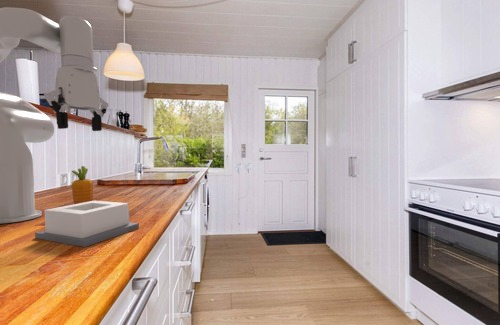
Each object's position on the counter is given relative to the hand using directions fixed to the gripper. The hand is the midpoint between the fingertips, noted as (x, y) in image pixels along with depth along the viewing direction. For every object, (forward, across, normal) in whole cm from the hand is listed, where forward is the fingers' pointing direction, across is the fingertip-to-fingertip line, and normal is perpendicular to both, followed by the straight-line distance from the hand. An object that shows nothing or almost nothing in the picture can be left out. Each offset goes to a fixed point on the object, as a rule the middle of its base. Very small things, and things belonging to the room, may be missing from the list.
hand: (80, 129), depth 75 cm
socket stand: (+25, +8, +13) cm, 29 cm away
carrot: (+25, 0, 0) cm, 25 cm away
